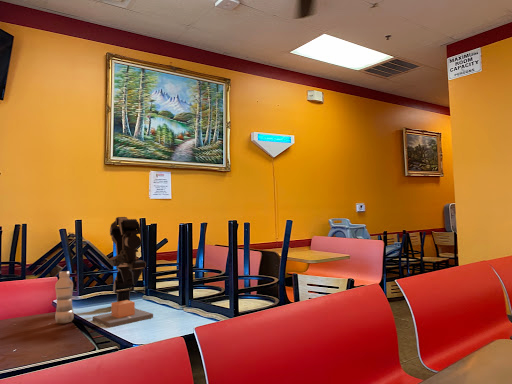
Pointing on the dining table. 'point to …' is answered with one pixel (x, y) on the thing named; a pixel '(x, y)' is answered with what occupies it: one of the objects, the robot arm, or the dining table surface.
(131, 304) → the orange block
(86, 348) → the dining table surface
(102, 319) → the panel
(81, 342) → the dining table surface
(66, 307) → the plastic bottle
